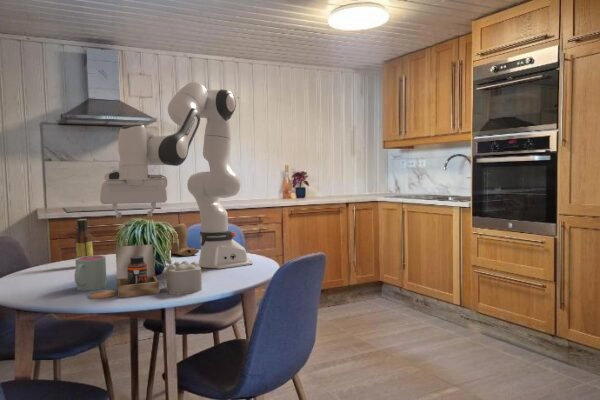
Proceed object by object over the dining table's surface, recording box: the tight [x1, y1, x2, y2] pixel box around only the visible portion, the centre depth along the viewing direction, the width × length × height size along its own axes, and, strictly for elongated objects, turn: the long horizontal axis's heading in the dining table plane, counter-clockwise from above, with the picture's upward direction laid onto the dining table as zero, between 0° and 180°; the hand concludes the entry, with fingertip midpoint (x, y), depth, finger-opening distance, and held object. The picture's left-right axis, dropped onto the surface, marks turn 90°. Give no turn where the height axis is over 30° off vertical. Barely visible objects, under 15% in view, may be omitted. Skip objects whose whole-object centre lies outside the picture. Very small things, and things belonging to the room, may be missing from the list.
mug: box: [74, 255, 107, 292], centre depth 154 cm, size 14×9×10 cm
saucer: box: [89, 289, 117, 300], centre depth 145 cm, size 8×8×1 cm
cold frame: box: [115, 244, 160, 298], centre depth 152 cm, size 12×16×14 cm
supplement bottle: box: [128, 256, 147, 285], centre depth 150 cm, size 6×6×11 cm
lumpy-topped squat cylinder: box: [165, 260, 203, 295], centre depth 153 cm, size 10×13×9 cm
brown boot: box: [170, 223, 200, 257], centre depth 219 cm, size 15×12×15 cm
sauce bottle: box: [74, 218, 94, 258], centre depth 194 cm, size 7×6×20 cm
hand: (134, 217), depth 149 cm, fingers open, 8 cm apart
